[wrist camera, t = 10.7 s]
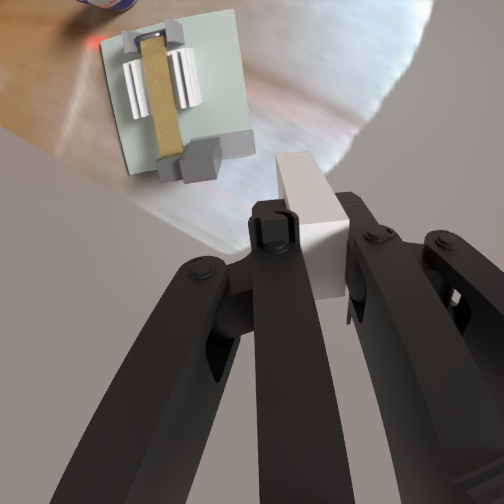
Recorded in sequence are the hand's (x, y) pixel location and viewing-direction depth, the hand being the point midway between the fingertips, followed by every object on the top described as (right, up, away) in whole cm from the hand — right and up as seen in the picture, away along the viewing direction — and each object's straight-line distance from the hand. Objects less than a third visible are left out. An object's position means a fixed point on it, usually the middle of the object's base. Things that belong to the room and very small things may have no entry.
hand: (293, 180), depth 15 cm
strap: (-13, +16, +22) cm, 30 cm away
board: (-13, +19, +27) cm, 36 cm away
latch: (-10, +11, +31) cm, 34 cm away
